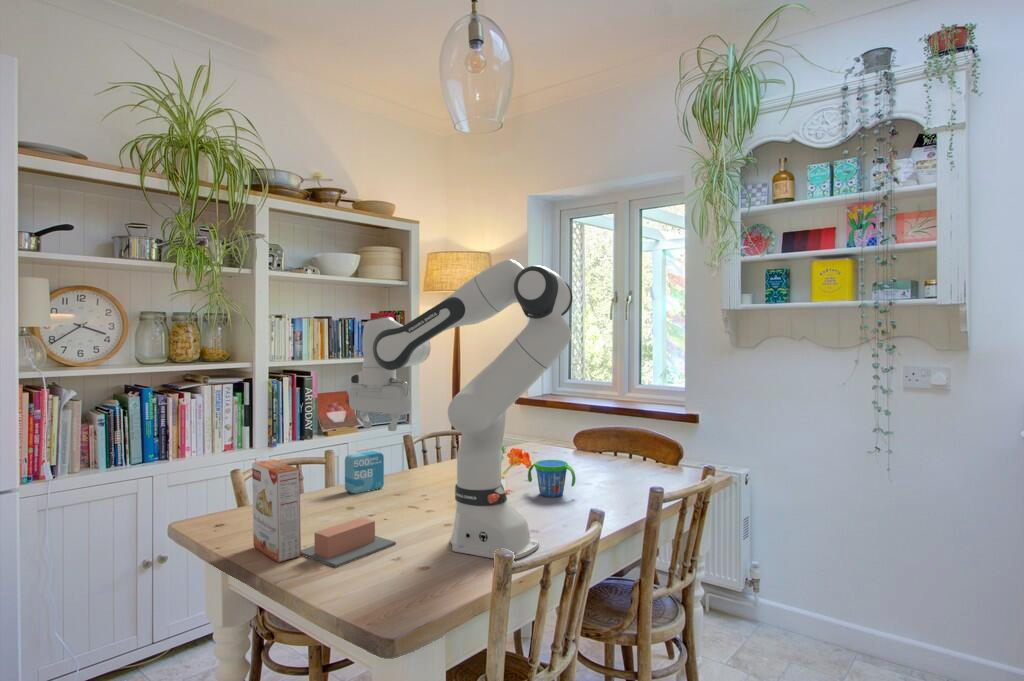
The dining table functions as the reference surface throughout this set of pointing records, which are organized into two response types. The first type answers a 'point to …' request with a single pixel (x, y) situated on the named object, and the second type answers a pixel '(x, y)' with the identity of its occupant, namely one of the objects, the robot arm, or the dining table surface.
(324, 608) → the dining table surface
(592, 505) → the dining table surface
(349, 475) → the data package
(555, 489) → the snack cup
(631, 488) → the dining table surface
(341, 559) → the mat
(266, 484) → the cracker box
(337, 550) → the block
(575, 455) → the dining table surface
